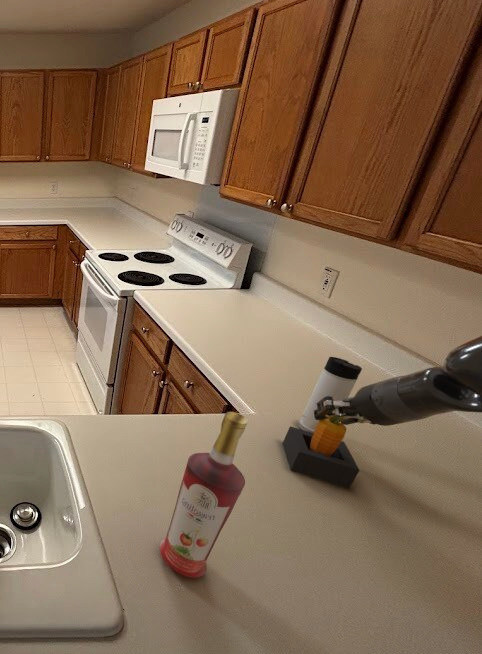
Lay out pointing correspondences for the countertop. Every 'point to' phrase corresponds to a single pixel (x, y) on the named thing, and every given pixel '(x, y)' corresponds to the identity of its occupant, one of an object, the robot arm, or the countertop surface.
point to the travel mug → (330, 388)
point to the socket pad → (319, 459)
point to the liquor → (204, 501)
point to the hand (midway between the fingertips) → (329, 417)
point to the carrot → (328, 436)
